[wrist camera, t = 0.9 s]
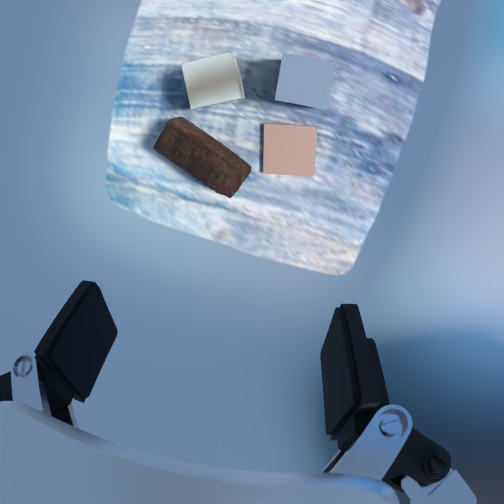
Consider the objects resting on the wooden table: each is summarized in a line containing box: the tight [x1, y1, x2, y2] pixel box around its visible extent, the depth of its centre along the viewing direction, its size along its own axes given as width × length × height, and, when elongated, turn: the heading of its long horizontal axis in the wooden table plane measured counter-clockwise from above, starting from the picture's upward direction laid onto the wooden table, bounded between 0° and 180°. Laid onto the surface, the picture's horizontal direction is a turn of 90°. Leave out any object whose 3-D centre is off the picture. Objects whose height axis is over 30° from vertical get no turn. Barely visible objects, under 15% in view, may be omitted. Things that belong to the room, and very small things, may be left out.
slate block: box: [275, 53, 335, 110], centre depth 24 cm, size 5×5×5 cm
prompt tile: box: [263, 123, 317, 176], centre depth 30 cm, size 6×6×1 cm
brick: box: [154, 117, 251, 198], centre depth 30 cm, size 11×4×5 cm, turn 52°
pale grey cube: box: [182, 52, 246, 109], centre depth 25 cm, size 5×5×5 cm
